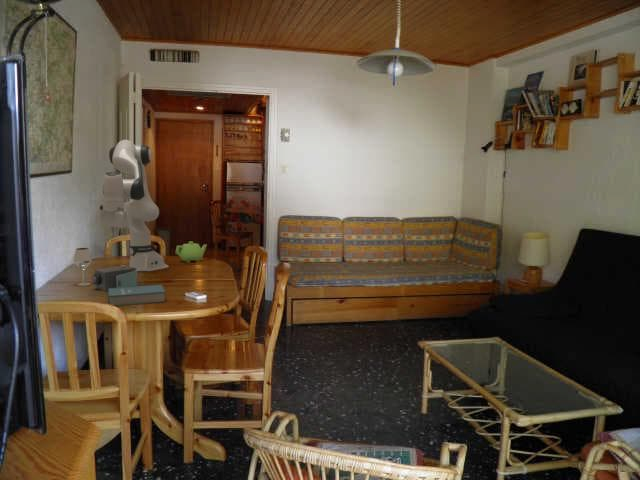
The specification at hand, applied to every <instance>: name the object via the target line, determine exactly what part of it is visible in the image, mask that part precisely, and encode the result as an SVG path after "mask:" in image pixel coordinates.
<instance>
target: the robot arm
mask: <svg viewBox="0 0 640 480" xmlns="http://www.w3.org/2000/svg"><path fill="white" fill-rule="evenodd" d="M152 153H153V152H152V151H151V149H150V147H149V146H148V145H145V144H142V145H140V144H134V142H132V141H131V140H129V139H122V140H119V142H118V143H116V146H113V147H111V148H109V152H108V159H109V162H110V164H111V165H113V166H114V168H115V169H116V170H117V171H108V172H106V173H104V176H103V184H102V194H103V195H104V198H103V203H102V204H101V205H99V206H98V209H99V211H100V212H99V217H100V224H101V225H102V226H104V227H109V230H110V233H111V237H112V238H113V237H114V238H119V235H120V234H119V233H120V230H121V229H128V231H129V240H130V244H129V256H130V257H129V258H130V259H129V265H128V266H130V267H134V268H136V270H137V272H154V271H157V270H163V269H168V268H169V265H168V264H166V263H165V260H164V257H163V256H162V255H161V254H160V253H158V252H156V251H155V250H156V249H157V248H158V246H157V245H155V244H152V243H151V242H152V240H151V239H152V238H151V231H150V229H149V228H148V227H147V225H146V223H145V222H153V221H155V220H157V219H158V217H159V215H160V208H159V207H158V206H157V204H155V202H154V201H153V199H152V197H151V195H150V192H149V188H148V180H147V173H146V168H145V167H146V166H147V165H149V164H150V163H151V161H152V158H153V155H152ZM122 173H125V178H123V175H122ZM125 200H132V201H126V202H125ZM154 249H155V250H154Z"/></svg>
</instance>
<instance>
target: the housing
mask: <svg viewBox="0 0 640 480" xmlns="http://www.w3.org/2000/svg"><path fill="white" fill-rule="evenodd" d="M135 270H136V268H134V267H130V266H129V265H125V264H123V265H119V266H113V267H106V268H98V269H94V273H93V274H92V281H93V285H94V286H95V289H96V290H101V291H102V292H103V291H104V292H108V288H117V282H116V276H118V275H121V274H125V273H128V272H131V271H135Z"/></svg>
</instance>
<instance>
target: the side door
mask: <svg viewBox="0 0 640 480" xmlns="http://www.w3.org/2000/svg"><path fill="white" fill-rule="evenodd" d="M116 282H117V288H121V287H135V286H139V285H138V271H137V270H135V271H131V272H128V273H125V274H121V275H118V276H116Z"/></svg>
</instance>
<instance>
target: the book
mask: <svg viewBox="0 0 640 480" xmlns="http://www.w3.org/2000/svg"><path fill="white" fill-rule="evenodd" d="M107 292H108V303H109V302H110V303H109V304H113V305H116V306H115V307H119V306H131V305H142V304H144V305H145V304H154V303H156V304H157V303H166V299H165V298H166V297H165V294H166V291H165V289H164V286H163V285H162V284H155V285H154V284H152V285H138V286H134V287H121V288H108V291H107ZM109 304H108V305H109ZM117 305H119V306H117Z"/></svg>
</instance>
